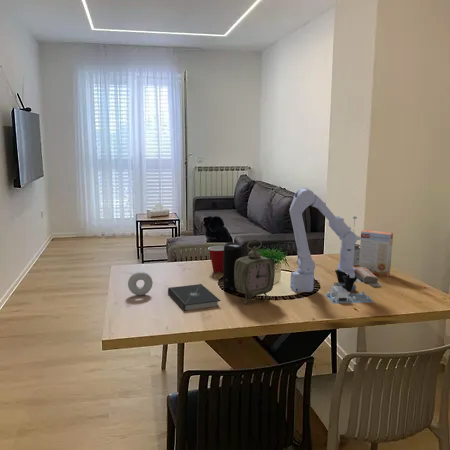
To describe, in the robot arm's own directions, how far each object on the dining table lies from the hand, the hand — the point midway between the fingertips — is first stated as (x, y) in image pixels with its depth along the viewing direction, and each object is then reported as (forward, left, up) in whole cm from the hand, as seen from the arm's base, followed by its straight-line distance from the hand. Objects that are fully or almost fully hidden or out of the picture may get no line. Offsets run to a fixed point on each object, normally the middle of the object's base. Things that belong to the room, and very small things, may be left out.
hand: (344, 289), depth 202 cm
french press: (+22, +47, -2) cm, 52 cm away
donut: (-86, +3, -2) cm, 86 cm away
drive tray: (-2, -10, -1) cm, 11 cm away
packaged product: (+16, +16, -2) cm, 22 cm away
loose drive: (0, 0, -2) cm, 2 cm away
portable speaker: (-47, +9, -2) cm, 48 cm away
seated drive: (-6, -10, 0) cm, 12 cm away
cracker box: (+25, +26, -2) cm, 36 cm away
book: (-65, -4, -2) cm, 65 cm away
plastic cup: (-50, +36, -2) cm, 62 cm away
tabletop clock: (-41, -6, -2) cm, 41 cm away
